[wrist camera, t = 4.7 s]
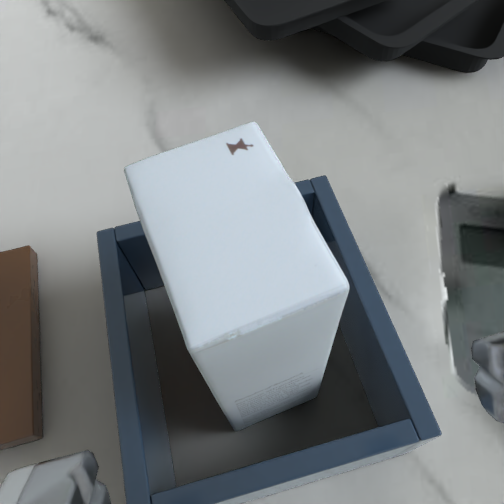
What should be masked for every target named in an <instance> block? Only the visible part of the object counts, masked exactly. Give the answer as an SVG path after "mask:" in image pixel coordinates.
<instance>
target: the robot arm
mask: <svg viewBox="0 0 504 504" xmlns="http://www.w3.org/2000/svg"><path fill="white" fill-rule="evenodd" d="M471 352H472V359H473V360H474V361H475V362H476V363H477V364H478V365H479V366H480V367H479V369H478V371H477V373H476V375H475V377H474V380H475V386H476V392H477V394H478V397H479V399H480V401H481V404H482V405H483V407H484V408H485V410H486V411H487V412H488V414H489V415H491V416H492V417H493V418H494V419H495V420H496V421H498V422H501V423H504V331H503V332H500V333H497V334H494V335H490V336H487V337H484V338H481V339H478V340H474V341H473V343H472V347H471ZM98 469H99V466H98V464H97V461H96V459H95V456H94V454H93V453H92V452H91V451H89V450H86V451H82V452H78V453H74V454H71V455H67V456H63V457H59V458H55V459H52V460H48V461H44V462H40V463H38V464H32V465H29V466H26V467H22V468H19V469H15V470H13V471H11V472H10V473H8V474H7V476H6V478H5V480H4V482H3V484H2V485H1V487H0V504H111V500H110V495H109V493H108V490H107V487H106V485H105V484H103V483H101V482H100V481H98V480H96V477H97V473H98Z"/></svg>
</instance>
